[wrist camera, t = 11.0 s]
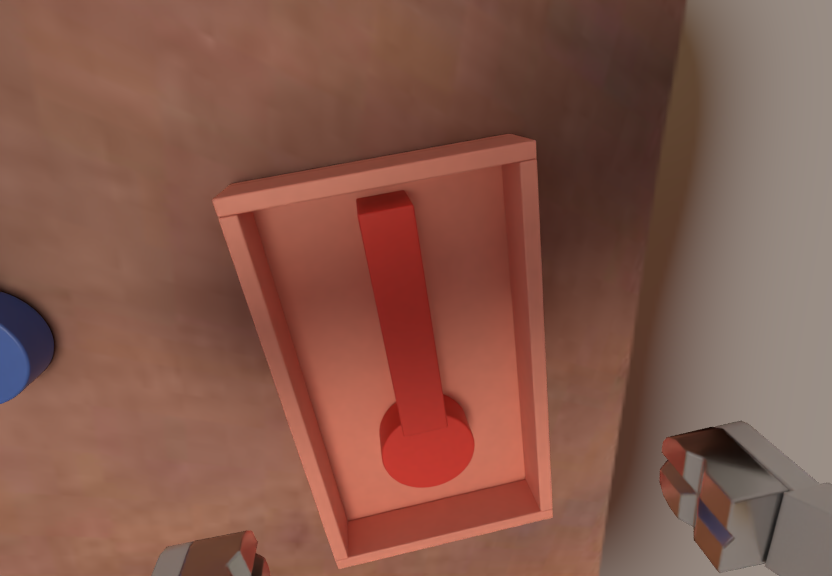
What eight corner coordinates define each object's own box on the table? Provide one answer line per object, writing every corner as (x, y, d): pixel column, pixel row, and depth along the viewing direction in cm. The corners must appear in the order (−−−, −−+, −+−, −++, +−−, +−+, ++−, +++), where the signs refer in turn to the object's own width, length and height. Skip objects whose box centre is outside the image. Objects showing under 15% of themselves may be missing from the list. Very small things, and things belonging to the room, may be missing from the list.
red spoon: (324, 204, 16) (321, 221, 14) (434, 183, 17) (448, 198, 14) (387, 470, 22) (392, 512, 19) (470, 451, 22) (484, 491, 20)
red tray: (229, 183, 16) (210, 199, 14) (510, 132, 17) (536, 139, 15) (338, 523, 23) (338, 570, 21) (533, 477, 24) (553, 517, 22)
